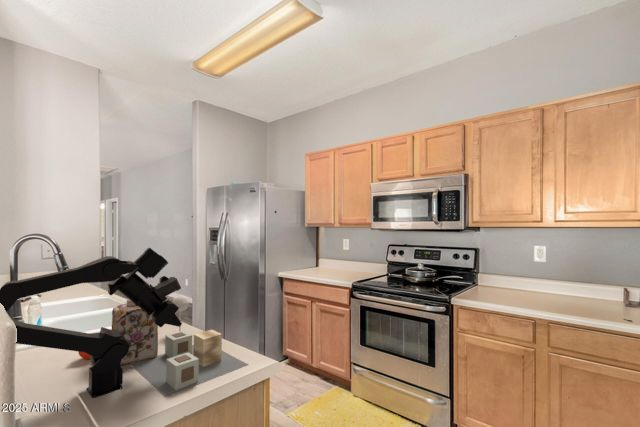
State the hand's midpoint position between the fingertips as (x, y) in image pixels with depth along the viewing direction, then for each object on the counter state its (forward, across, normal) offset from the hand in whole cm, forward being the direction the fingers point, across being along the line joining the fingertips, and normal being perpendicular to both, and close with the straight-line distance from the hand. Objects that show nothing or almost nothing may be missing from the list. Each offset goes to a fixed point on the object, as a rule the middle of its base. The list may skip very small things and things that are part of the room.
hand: (180, 324), depth 93 cm
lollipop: (+15, +28, +4) cm, 32 cm away
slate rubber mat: (+11, +1, +7) cm, 13 cm away
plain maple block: (+14, 0, +3) cm, 15 cm away
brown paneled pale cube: (+10, +10, +7) cm, 16 cm away
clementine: (-5, +24, +24) cm, 34 cm away
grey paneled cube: (+8, -9, +10) cm, 15 cm away
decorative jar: (+3, +18, +15) cm, 24 cm away
